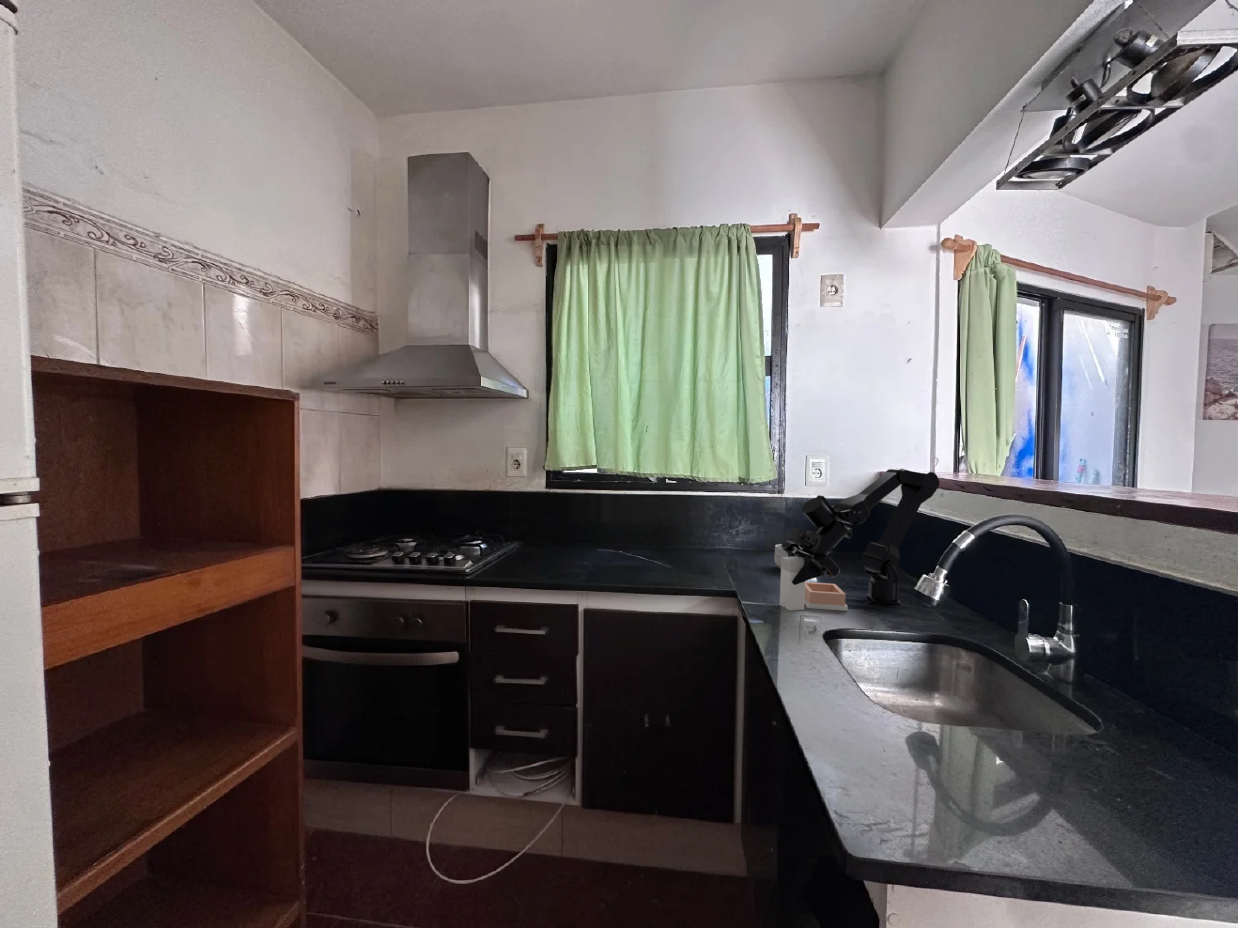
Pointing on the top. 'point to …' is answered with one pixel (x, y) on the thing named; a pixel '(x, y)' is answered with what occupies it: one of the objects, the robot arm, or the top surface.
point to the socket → (824, 596)
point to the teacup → (780, 554)
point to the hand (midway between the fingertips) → (787, 580)
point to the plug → (791, 584)
